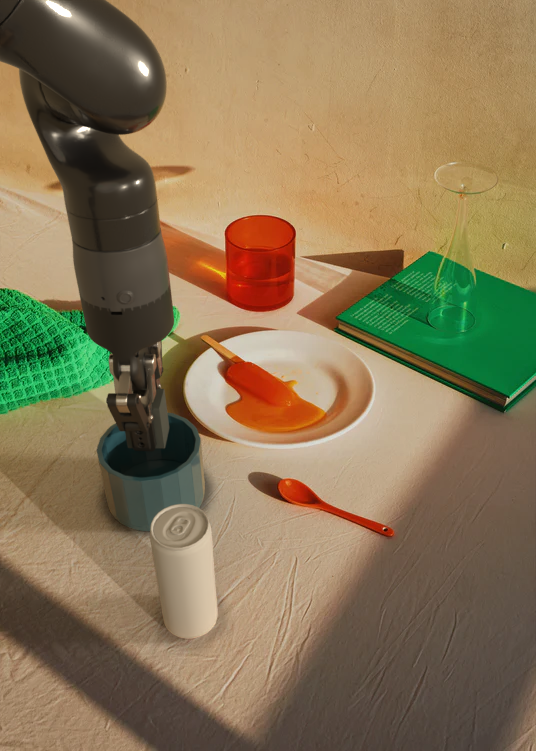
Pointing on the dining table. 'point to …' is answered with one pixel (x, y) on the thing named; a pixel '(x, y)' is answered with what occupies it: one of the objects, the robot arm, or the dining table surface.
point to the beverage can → (185, 570)
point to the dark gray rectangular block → (157, 420)
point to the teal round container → (151, 473)
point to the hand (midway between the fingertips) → (148, 435)
